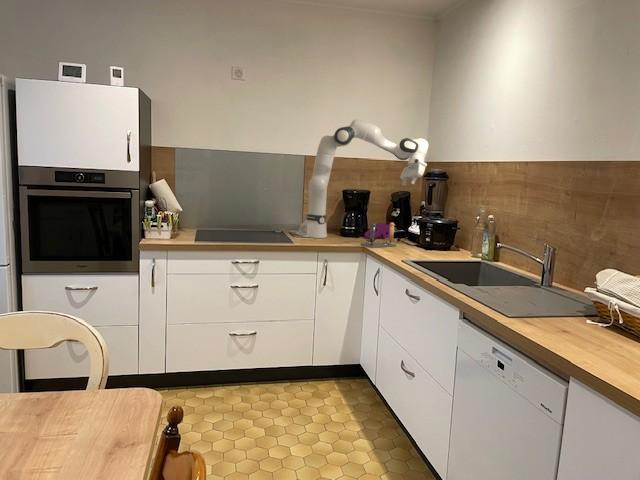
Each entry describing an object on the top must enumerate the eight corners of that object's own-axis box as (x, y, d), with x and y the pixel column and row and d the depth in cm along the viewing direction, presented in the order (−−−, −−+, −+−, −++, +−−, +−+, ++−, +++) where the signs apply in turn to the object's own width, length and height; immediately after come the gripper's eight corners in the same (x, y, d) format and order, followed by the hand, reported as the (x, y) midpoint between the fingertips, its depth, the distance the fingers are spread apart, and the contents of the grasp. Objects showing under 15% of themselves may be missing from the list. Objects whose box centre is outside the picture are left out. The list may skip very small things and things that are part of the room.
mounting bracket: (375, 248, 308) (391, 235, 318) (373, 237, 304) (389, 224, 314) (364, 246, 314) (380, 233, 324) (361, 235, 310) (377, 222, 321)
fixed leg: (365, 243, 278) (366, 222, 277) (369, 242, 280) (370, 221, 278) (371, 244, 274) (373, 223, 272) (375, 244, 276) (377, 223, 274)
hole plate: (360, 245, 279) (361, 241, 279) (383, 243, 291) (384, 239, 291) (372, 248, 272) (372, 243, 271) (395, 246, 283) (396, 242, 283)
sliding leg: (384, 241, 288) (385, 221, 286) (387, 241, 290) (389, 221, 288) (390, 242, 284) (392, 222, 282) (394, 242, 285) (395, 222, 284)
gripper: (402, 164, 299) (394, 184, 298) (420, 159, 281) (413, 180, 279) (409, 168, 302) (402, 188, 300) (428, 163, 283) (421, 185, 281)
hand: (407, 184), depth 289 cm, fingers open, 8 cm apart
